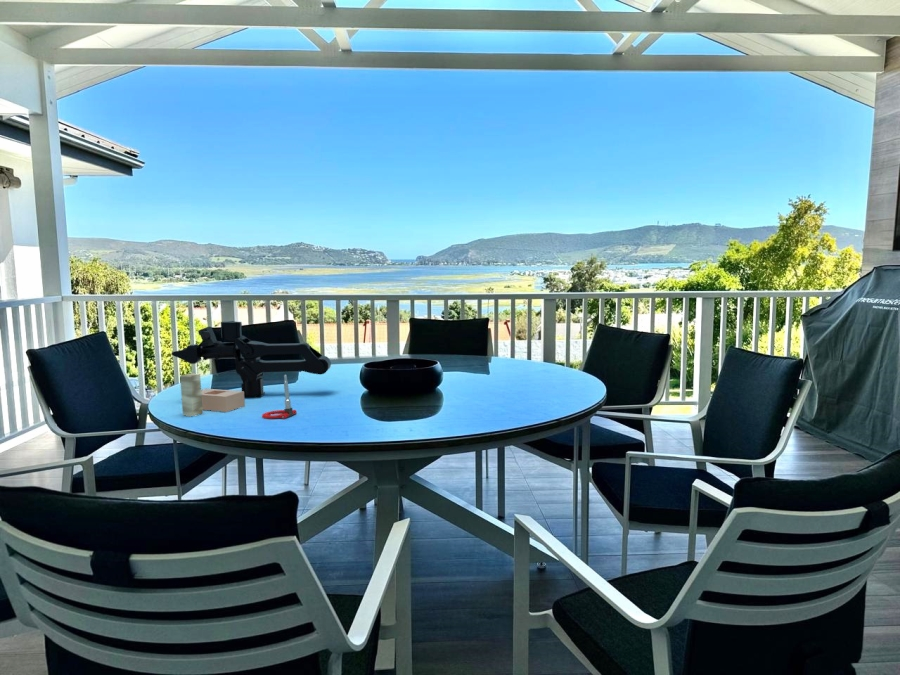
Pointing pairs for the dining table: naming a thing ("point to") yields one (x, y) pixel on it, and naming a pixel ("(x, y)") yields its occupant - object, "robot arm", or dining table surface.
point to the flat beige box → (222, 400)
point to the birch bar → (191, 394)
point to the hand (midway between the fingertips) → (177, 351)
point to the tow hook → (288, 410)
